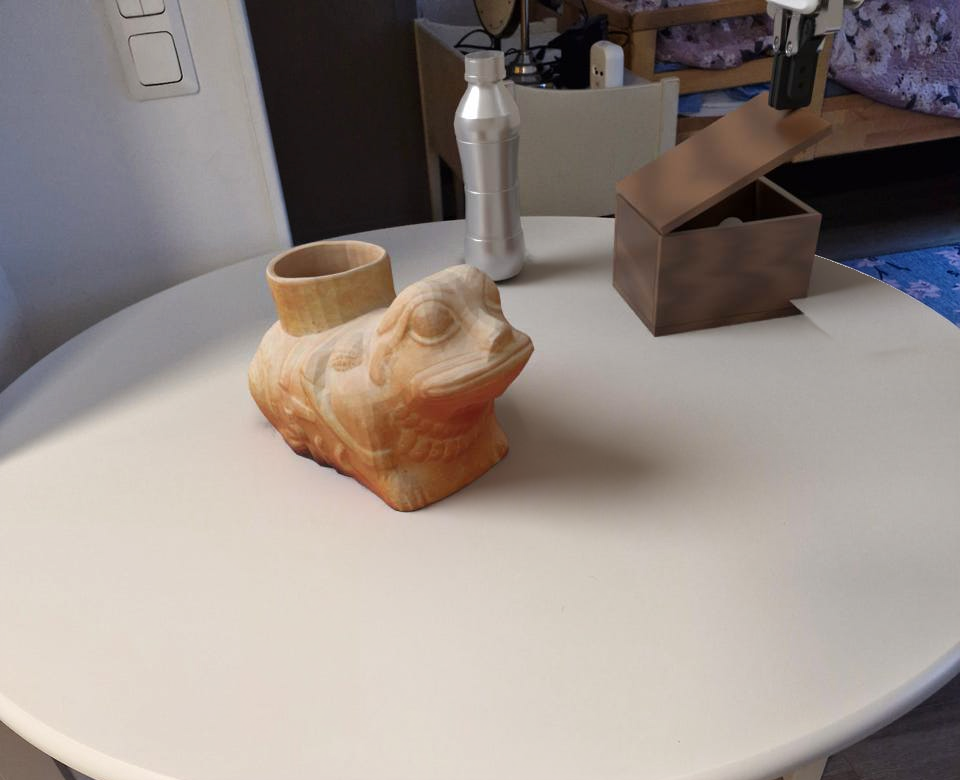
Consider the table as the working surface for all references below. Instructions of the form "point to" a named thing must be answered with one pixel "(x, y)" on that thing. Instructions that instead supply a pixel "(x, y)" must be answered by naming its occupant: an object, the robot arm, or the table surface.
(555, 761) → the table surface
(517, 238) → the silver bottle
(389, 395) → the ceramic vessel
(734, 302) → the chest
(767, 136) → the lid
